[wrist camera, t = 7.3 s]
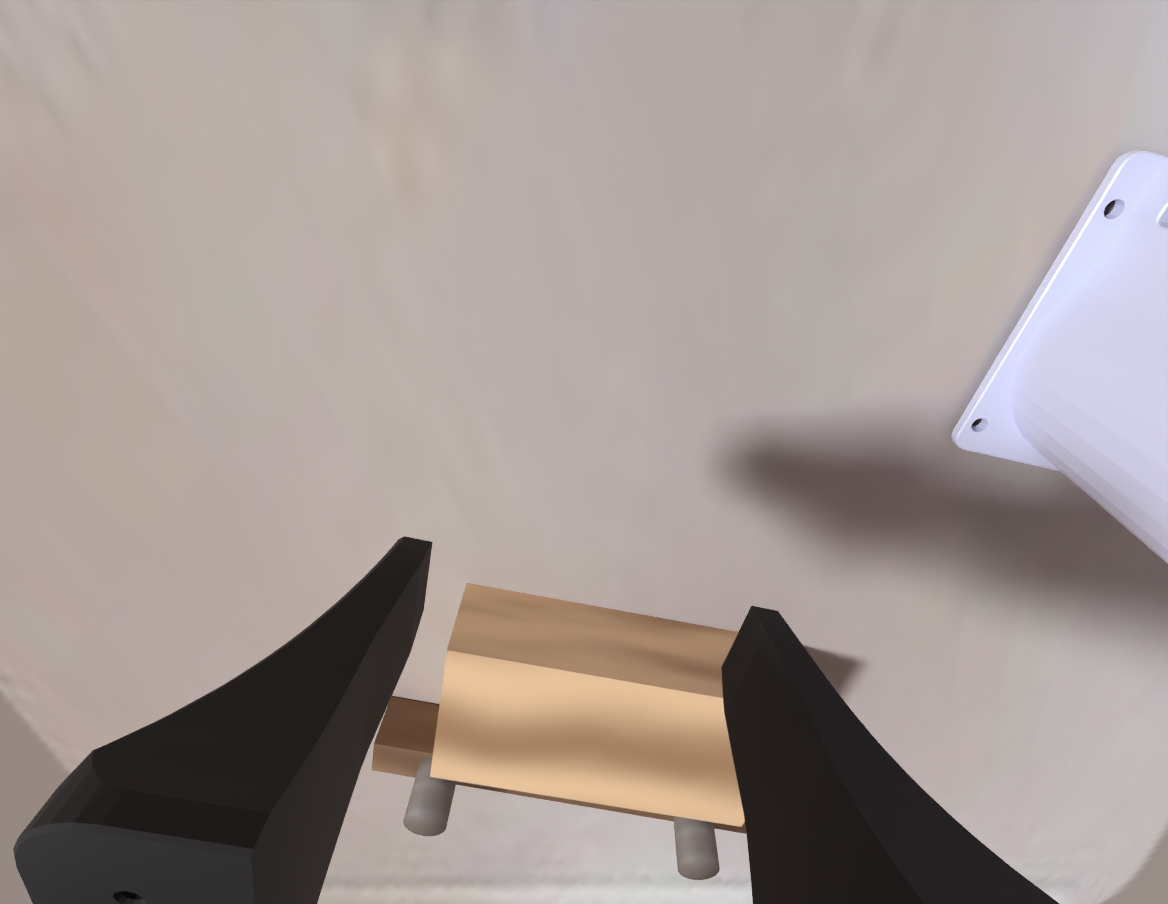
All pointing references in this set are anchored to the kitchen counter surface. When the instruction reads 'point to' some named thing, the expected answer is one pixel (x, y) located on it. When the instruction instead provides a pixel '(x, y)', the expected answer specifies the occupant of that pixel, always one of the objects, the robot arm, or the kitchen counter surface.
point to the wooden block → (587, 706)
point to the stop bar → (410, 753)
